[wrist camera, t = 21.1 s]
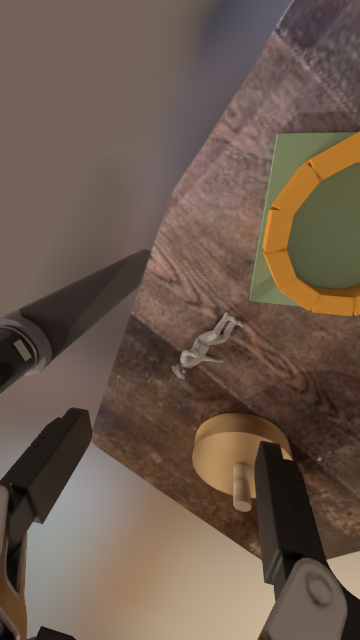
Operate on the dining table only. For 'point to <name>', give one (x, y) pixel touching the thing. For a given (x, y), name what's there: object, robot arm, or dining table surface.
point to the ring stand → (234, 453)
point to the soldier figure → (205, 346)
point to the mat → (313, 221)
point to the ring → (280, 223)
